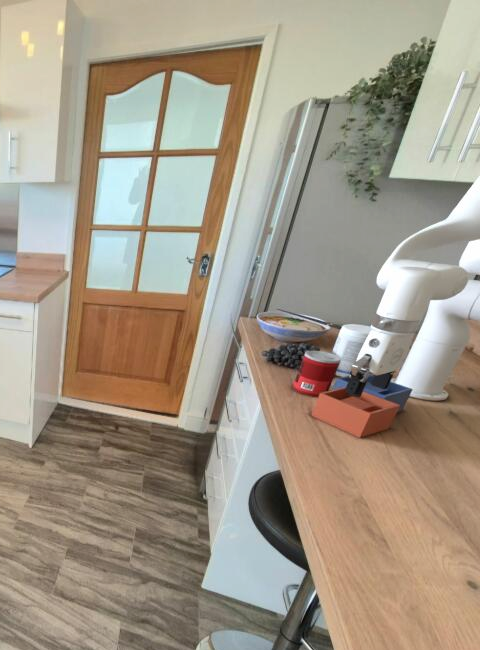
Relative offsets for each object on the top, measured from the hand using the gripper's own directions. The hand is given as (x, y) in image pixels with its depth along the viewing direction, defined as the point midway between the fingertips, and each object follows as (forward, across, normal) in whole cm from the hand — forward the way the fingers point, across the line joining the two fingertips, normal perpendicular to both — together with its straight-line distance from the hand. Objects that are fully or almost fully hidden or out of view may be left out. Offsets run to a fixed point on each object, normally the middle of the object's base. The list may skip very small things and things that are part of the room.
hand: (365, 390), depth 104 cm
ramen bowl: (+10, +42, +47) cm, 63 cm away
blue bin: (+9, +12, +4) cm, 15 cm away
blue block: (+8, +12, +4) cm, 15 cm away
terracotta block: (+8, -1, 0) cm, 8 cm away
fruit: (+9, +18, +30) cm, 36 cm away
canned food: (+9, +7, +15) cm, 19 cm away
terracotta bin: (+9, -1, 0) cm, 9 cm away
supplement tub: (+10, +29, +19) cm, 36 cm away
